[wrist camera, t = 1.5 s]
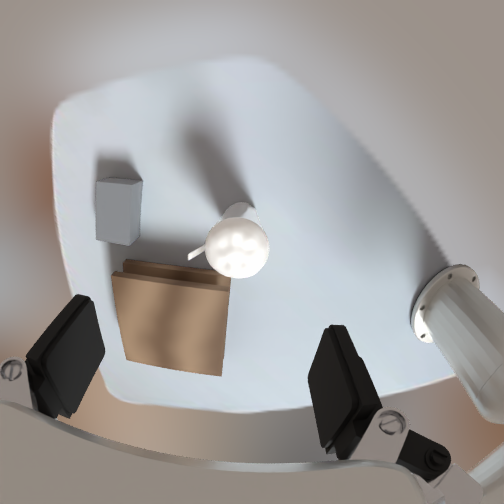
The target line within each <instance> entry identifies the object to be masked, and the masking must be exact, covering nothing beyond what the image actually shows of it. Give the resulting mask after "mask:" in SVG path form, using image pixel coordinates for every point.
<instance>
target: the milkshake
mask: <svg viewBox="0 0 504 504" xmlns="http://www.w3.org/2000/svg"><path fill="white" fill-rule="evenodd" d="M203 251H205V254H206V257H207V260H208V262H209V264H210V265H211V266H212V267H213V268H214V269H215V270H216V271H217V272H219V273H220V274H222V275H224V276H227V277H232V278H247V277H250V276H253V275H254V274H256V273H257V272H258V271H259V270H260V269H261V268H262V267H263V266H264V264H265V263H266V261H267V259H268V255H269V242H268V238H267V236H266V234H265V231H264V229H263V227H262V225H261V222H260V220H259V217H258V214H257V211H256V209H255V208H253V207H252V206H251V205H250V204H249V203H243V202H236V203H235V204H233V205H232V206H230V207H228V208H227V210H226V211H225V212H224V214H223V215H222V217H221V218H220V219H219V221H218V222H217V223H216V224H215V225H214V227H212V229H211V230H210V231H209V233H208V235H207V237H206V241H205V245H203V246H201V247H199V248H198V249H196V250H194V251H192V252H191V253H189V254H188V260H190V259H192V258H194V257H195V256H197V255H199V254H200V253H202V252H203Z"/></svg>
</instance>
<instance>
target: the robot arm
mask: <svg viewBox="0 0 504 504" xmlns="http://www.w3.org/2000/svg"><path fill="white" fill-rule="evenodd" d="M411 327H412V330H413V332H414V334H415V335H416V337H417V338H418V339H419V340H421V341H423V342H426V343H435V345H436V346H437V347H438V349H439V350H440V352H441V353H442V355H443V356H444V358H445V359H446V361H447V362H448V364H449V365H450V367H451V368H452V370H453V371H454V373H455V374H456V376H457V377H458V379H459V380H460V382H461V384H462V385H463V387H464V388H465V390H466V392H467V393H468V395H469V396H470V398H471V400H472V402H473V403H474V405H475V406H476V408H477V410H478V412H479V413H480V414H481V416H482V417H483V418H484V419H486V420H487V421H489V422H492V423H497V424H504V313H503V312H502V311H501V310H500V309H499V308H498V307H497V306H496V305H495V304H494V303H493V302H492V301H491V300H490V299H488V297H487V296H485V295H484V294H483V293H482V292H481V291H480V290H479V279H478V276H477V274H476V273H475V271H474V270H472V269H471V268H470V267H468V266H466V265H462V264H459V265H453V266H450V267H448V268H446V269H444V270H443V271H441V272H440V273H439V274H437V275H436V276H435V277H434V278H433V279H432V280H431V281H430V282H429V283H428V284H427V285H426V287H425V288H424V289H423V291H422V292H421V294H420V296H419V297H418V299H417V301H416V303H415V306H414V309H413V312H412V317H411ZM104 355H105V347H104V343H103V339H102V336H101V332H100V328H99V324H98V319H97V315H96V311H95V306H94V302H93V301H91V299H90V297H88V296H84V295H79V294H77V295H75V296H74V297H73V298H72V300H71V301H70V302H69V303H68V304H67V305H66V306H65V308H64V309H63V310H62V311H61V312H60V313H59V315H58V316H57V317H56V318H55V319H54V320H53V322H52V323H51V324H50V325H49V327H48V328H47V329H46V330H45V331H44V333H43V334H42V335H41V336H40V338H39V339H38V340H37V342H36V343H35V344H34V346H33V347H32V348H31V349H30V351H29V352H28V353H27V355H26V358H27V359H26V361H25V362H24V360H23V359H21V358H19V357H10V358H7V359H6V360H4V361H3V362H2V363H1V364H0V504H504V442H503V443H502V444H500V445H499V446H498V447H497V448H496V449H495V450H494V451H492V452H491V453H490V454H489V455H487V456H486V457H485V458H484V459H482V460H481V461H480V462H479V463H477V464H476V465H475V466H474V467H472V468H471V469H470V470H469V471H467V472H465V471H464V470H463V469H461V468H460V467H459V466H458V465H457V464H456V463H455V464H453V465H452V464H451V456H450V453H449V451H448V450H447V449H446V448H445V447H444V446H442V445H440V444H438V443H436V442H434V441H432V440H430V439H428V438H426V437H424V436H422V435H420V434H418V433H416V432H414V431H412V430H410V429H409V426H410V424H409V419H408V418H407V416H406V415H405V414H404V413H403V412H402V411H401V410H399V409H397V408H394V407H385V408H383V407H382V404H381V402H380V399H379V397H378V394H377V392H376V389H375V387H374V385H373V382H372V380H371V378H370V375H369V373H368V370H367V368H366V366H365V364H364V361H363V360H362V358H361V357H359V356H358V354H357V351H356V349H355V347H354V344H353V342H352V340H351V338H350V335H349V333H348V331H347V329H346V327H345V326H344V325H330V326H329V328H325V330H324V332H323V335H322V338H321V341H320V344H319V346H318V349H317V352H316V355H315V357H314V360H313V363H312V365H311V368H310V371H309V374H308V384H309V389H310V393H311V398H312V403H313V408H314V413H315V418H316V423H317V428H318V433H319V438H320V443H321V447H322V448H325V449H326V454H332V453H336V455H337V458H338V460H337V461H324V462H310V463H282V464H258V463H235V462H222V461H212V460H202V459H195V458H188V457H182V456H176V455H170V454H165V453H160V452H156V451H151V450H146V449H142V448H138V447H134V446H131V445H127V444H123V443H120V442H116V441H113V440H110V439H106V438H103V437H100V436H97V435H94V434H91V433H88V432H86V431H83V430H81V429H78V428H75V427H73V426H70V425H68V424H65V423H63V422H60V421H58V420H57V416H58V414H60V415H62V416H64V417H66V418H69V419H70V417H71V415H72V413H75V412H76V411H77V409H78V407H79V405H80V402H81V400H82V398H83V396H84V394H85V392H86V390H87V388H88V386H89V384H90V382H91V380H92V378H93V376H94V374H95V372H96V370H97V369H98V367H99V365H100V363H101V361H102V359H103V357H104Z"/></svg>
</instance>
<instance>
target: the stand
mask: <svg viewBox="0 0 504 504" xmlns="http://www.w3.org/2000/svg"><path fill="white" fill-rule="evenodd" d="M111 279H112V286H113V293H114V300H115V306H116V312H117V318H118V323H119V328H120V333H121V338H122V343H123V347H124V352H125V356H126V360H129V361H133V362H138V363H142V364H147V365H152V366H157V367H162V368H168V369H173V370H179V371H185V372H192V373H199V374H206V375H214V376H222V367H223V359H224V350H225V338H226V327H227V316H228V305H229V294H230V283H231V277H227V276H224V275H222V274H220V273H219V272H217V271H216V270H207V269H199V268H191V267H182V266H174V265H166V264H159V263H151V262H143V261H136V260H129V259H126V260H125V261H124V262H123V272H117V271H115V272H114V273H113V274H112V275H111Z"/></svg>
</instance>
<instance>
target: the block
mask: <svg viewBox="0 0 504 504" xmlns="http://www.w3.org/2000/svg"><path fill="white" fill-rule="evenodd" d="M142 186H143V181H141V180H132V179H123V178H112V177H109V178H106V179H102V180H99V181H96V240H100V241H105V242H111V243H116V244H121V245H127V246H130V245H131V244H132V243H133V242H134V241H135V240H136V239H137V238H139V237H140V216H141V199H142Z"/></svg>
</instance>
